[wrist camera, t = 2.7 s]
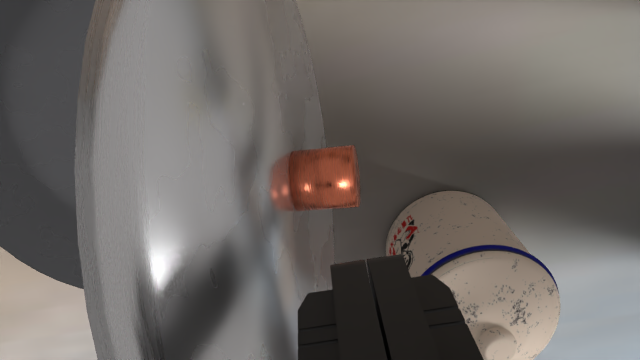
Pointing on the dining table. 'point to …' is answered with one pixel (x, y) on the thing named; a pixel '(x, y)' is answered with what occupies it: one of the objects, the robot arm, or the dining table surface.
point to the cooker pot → (41, 132)
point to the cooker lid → (203, 179)
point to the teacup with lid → (480, 272)
